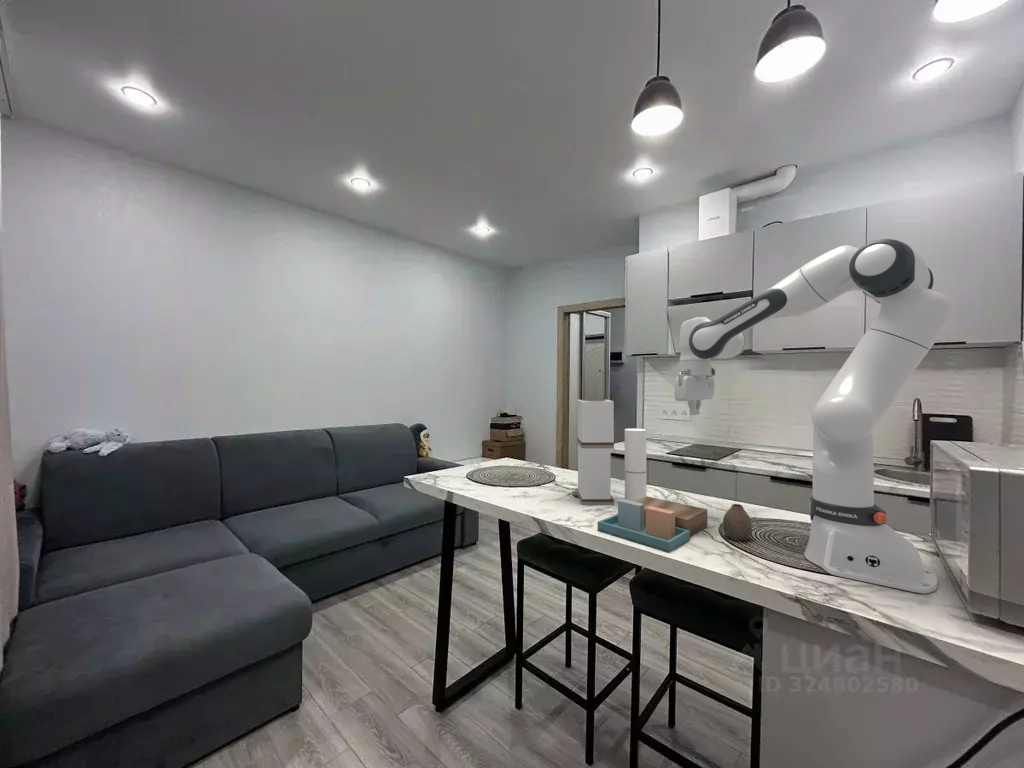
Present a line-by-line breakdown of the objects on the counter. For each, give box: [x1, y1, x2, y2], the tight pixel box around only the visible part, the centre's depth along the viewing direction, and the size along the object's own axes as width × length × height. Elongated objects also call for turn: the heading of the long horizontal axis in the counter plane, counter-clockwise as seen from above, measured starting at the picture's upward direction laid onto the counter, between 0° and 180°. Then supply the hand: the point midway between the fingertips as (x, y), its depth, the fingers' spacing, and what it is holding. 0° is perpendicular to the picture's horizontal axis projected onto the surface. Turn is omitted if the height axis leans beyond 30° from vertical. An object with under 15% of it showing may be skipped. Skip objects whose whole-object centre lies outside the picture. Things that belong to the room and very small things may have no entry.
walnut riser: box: [633, 495, 708, 538], centre depth 123 cm, size 19×13×5 cm
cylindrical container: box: [624, 427, 647, 501], centre depth 145 cm, size 7×7×25 cm
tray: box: [597, 513, 691, 553], centre depth 114 cm, size 21×12×2 cm, turn 43°
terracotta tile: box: [646, 506, 675, 540], centre depth 112 cm, size 7×7×2 cm
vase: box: [722, 503, 753, 541], centre depth 112 cm, size 7×7×9 cm
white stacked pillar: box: [577, 399, 615, 506], centre depth 147 cm, size 11×11×35 cm
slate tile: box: [617, 498, 645, 531], centre depth 119 cm, size 7×7×2 cm
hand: (694, 414), depth 131 cm, fingers closed
